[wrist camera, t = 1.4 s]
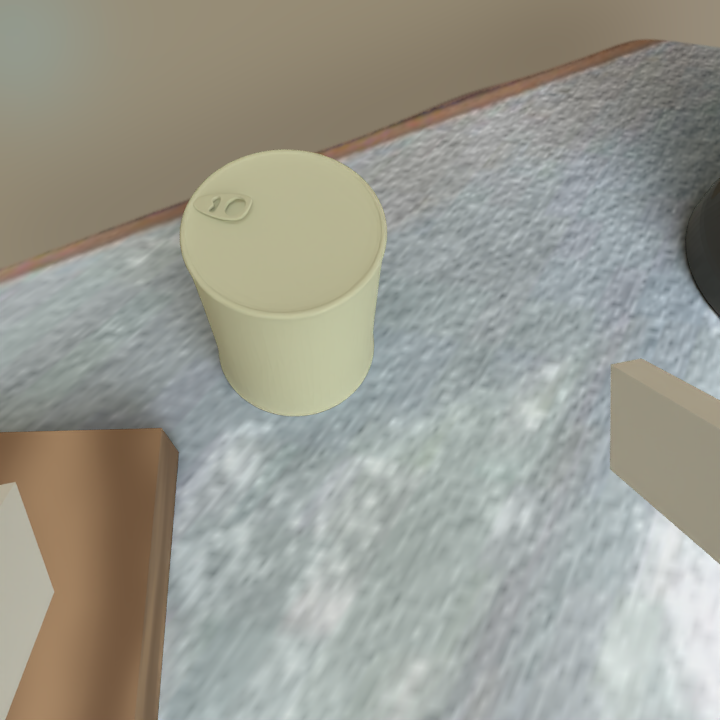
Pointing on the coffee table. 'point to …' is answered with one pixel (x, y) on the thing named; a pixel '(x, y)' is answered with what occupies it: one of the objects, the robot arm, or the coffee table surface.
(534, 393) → the coffee table surface
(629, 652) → the coffee table surface
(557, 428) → the coffee table surface
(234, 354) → the can
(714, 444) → the robot arm
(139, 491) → the plinth
